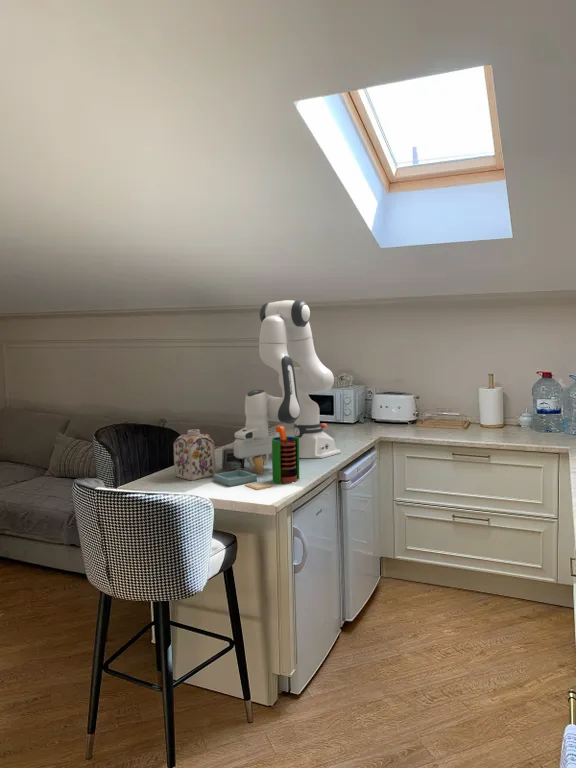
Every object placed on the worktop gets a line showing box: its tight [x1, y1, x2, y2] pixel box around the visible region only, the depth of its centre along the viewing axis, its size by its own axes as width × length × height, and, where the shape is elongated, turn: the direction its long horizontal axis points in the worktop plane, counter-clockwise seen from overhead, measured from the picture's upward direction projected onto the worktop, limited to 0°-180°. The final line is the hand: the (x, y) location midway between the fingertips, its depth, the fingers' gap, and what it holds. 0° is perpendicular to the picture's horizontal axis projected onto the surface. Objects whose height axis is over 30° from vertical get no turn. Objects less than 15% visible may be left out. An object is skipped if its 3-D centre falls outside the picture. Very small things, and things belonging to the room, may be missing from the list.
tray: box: [213, 469, 258, 488], centre depth 220 cm, size 12×12×2 cm
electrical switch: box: [221, 446, 246, 471], centre depth 240 cm, size 9×5×9 cm, turn 113°
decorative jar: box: [173, 429, 217, 482], centre depth 230 cm, size 12×12×18 cm
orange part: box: [252, 455, 264, 474], centre depth 234 cm, size 4×4×7 cm
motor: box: [271, 425, 300, 485], centre depth 218 cm, size 10×9×20 cm
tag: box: [244, 481, 272, 491], centre depth 212 cm, size 6×8×1 cm
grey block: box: [226, 461, 242, 472], centre depth 230 cm, size 4×4×5 cm
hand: (258, 466), depth 235 cm, fingers open, 4 cm apart
